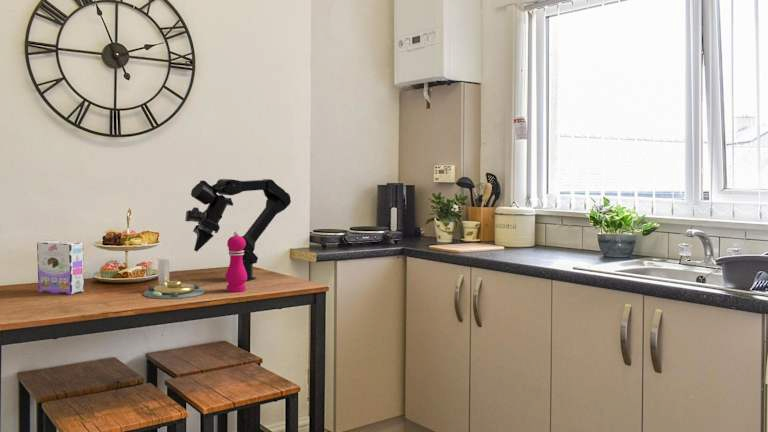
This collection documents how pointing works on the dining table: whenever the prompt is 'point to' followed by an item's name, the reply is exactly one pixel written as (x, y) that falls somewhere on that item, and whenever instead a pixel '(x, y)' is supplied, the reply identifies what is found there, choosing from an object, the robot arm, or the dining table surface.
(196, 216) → the robot arm
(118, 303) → the dining table surface
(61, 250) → the candy box
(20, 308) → the dining table surface
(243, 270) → the pepper mill
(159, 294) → the tribrach plate
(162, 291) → the footscrew wheel
